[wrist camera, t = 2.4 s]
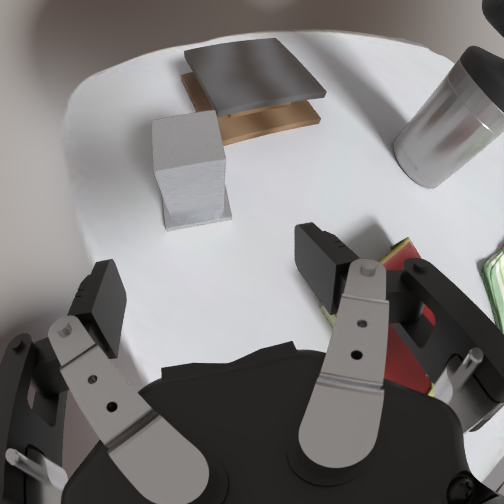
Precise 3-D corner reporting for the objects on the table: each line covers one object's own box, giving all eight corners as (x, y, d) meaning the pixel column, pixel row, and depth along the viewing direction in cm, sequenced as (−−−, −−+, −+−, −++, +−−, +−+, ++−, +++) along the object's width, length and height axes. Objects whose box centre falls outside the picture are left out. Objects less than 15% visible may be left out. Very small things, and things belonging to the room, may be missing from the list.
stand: (271, 63, 35) (277, 36, 30) (318, 123, 32) (332, 94, 27) (181, 80, 32) (179, 50, 27) (214, 148, 29) (214, 115, 24)
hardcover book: (391, 246, 29) (412, 234, 25) (458, 380, 25) (481, 381, 21) (312, 305, 26) (329, 300, 22) (398, 447, 22) (419, 457, 18)
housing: (219, 163, 29) (222, 101, 20) (231, 219, 27) (238, 165, 18) (161, 174, 28) (143, 113, 19) (167, 231, 26) (144, 182, 17)
